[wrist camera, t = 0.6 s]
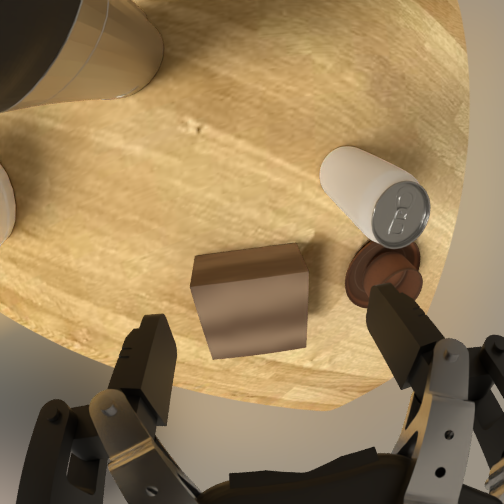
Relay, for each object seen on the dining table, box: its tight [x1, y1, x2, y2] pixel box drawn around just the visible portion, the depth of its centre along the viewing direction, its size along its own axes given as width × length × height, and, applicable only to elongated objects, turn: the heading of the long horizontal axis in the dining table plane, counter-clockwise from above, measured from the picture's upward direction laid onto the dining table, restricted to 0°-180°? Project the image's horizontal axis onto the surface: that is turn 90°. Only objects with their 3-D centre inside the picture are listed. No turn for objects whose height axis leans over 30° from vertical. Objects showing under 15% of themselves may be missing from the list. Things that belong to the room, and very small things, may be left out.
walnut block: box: [190, 243, 309, 360], centre depth 33 cm, size 12×12×6 cm
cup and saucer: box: [345, 241, 423, 308], centre depth 33 cm, size 12×12×6 cm
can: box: [320, 146, 430, 249], centre depth 24 cm, size 6×6×12 cm
